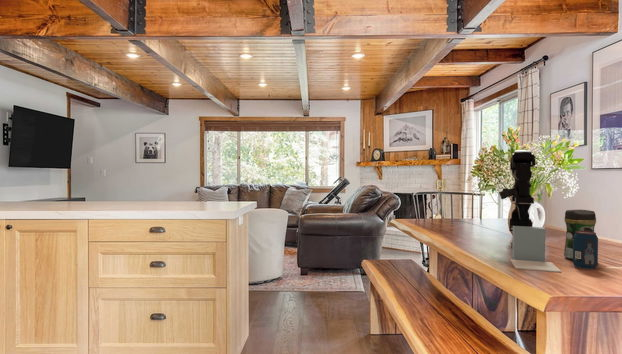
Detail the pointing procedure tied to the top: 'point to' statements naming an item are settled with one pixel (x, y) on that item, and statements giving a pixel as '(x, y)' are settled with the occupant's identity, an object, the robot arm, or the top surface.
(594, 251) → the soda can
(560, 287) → the top surface
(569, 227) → the coffee jar
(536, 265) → the beige square plate
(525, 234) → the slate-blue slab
